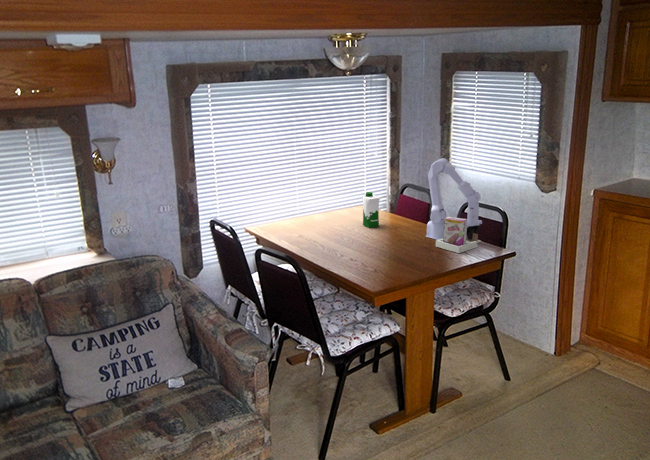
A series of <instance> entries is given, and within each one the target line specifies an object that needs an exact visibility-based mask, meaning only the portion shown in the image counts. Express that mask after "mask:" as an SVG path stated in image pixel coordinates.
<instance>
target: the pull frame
mask: <svg viewBox="0 0 650 460" xmlns="http://www.w3.org/2000/svg"><path fill="white" fill-rule="evenodd" d="M478 235H479V233H477V234H476V233H473V236H472V240H469V239H468V237H467V234H466V244H464V245H461V246H456V245H452V244H449V243H445V242H443V239H440V240H436V239H435V247H436V248H441V249H443V250H447V251H450V252H454V253H456V254H460V253H463V252H466V251H469V250H472V249H474V248H478V247H479V244H478V243H481V242H482V240H480V239H478V238H479V236H478Z"/></svg>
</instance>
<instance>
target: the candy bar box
mask: <svg viewBox="0 0 650 460" xmlns="http://www.w3.org/2000/svg"><path fill="white" fill-rule="evenodd" d="M466 234H467V218H461V217H453V216H446V217H445V219H444V237H443V242H445V243H449V244H452V245H456V246H461V245H464V244H466Z"/></svg>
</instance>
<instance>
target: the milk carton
mask: <svg viewBox="0 0 650 460" xmlns="http://www.w3.org/2000/svg"><path fill="white" fill-rule="evenodd" d="M380 199H381V197H380V196H378V195H374V194H373V192H371V191H367V192H365V195H363V196H362V203H363V205H362V206H363V207H362V209H363V210H362V216H363V218H362V226H363V225H364V227H366V228H368V229H373V228H377V226H379V227H380V219H379V211H380V210H379V208H380V207H379V206H380ZM372 227H373V228H372Z"/></svg>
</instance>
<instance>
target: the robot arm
mask: <svg viewBox="0 0 650 460" xmlns="http://www.w3.org/2000/svg"><path fill="white" fill-rule="evenodd" d="M441 174H445V175H448V176H449V177H450V178H451V179H452V180H453V181H454V182H455V183H456V185H458V186H457V187H458V190H459V191H460V192H461V194H462V195H464V197H465V198H466V202H467V203H468V204H467V218H466V219H467V237H468V239H469V240H472V236H473V233H476V234H478V232H479V230H480V228H481V225H482V224H483V220H481V219H479V212H480V210H479V209H480V208H479V207H480V206H479V205H480V201H481V194H480V192H478V191H477V190H476V189H474V188H473V187H472V186H471V182H468V181H464V179H462V177H461V176H460V175H459V173H458V171H456V168H454V166H453V165H452V163H451V162H449V160H448V159H447V158H445V157H442V158H440V159H438V160H435V161H433V162H432V164H431V165H430V169H429V171H428V173H427V178H428V185H429V193H430V200H431V205H432V206H431V210H430V218H429V219H430V220H429V221H428V222H427V224H426V235H425V237H426V238H430V239H433V240H435V241H436V240H440V239H443V237H444V219H445V218H446V217H447V211H446V209H445V207H444V205H443V203H442V195H441V189H440V188H441V187H440V181H439V176H440V175H441Z"/></svg>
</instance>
